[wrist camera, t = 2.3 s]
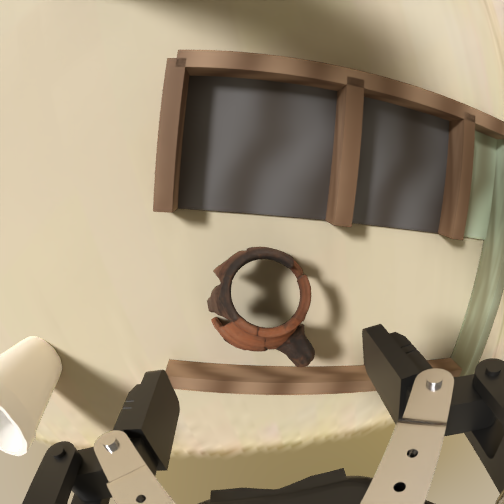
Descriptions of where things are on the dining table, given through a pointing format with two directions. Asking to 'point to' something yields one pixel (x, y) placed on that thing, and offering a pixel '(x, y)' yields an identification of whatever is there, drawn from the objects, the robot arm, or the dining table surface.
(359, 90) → the wooden divided tray
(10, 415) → the foam cup
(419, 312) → the dining table surface
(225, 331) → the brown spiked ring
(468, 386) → the robot arm
